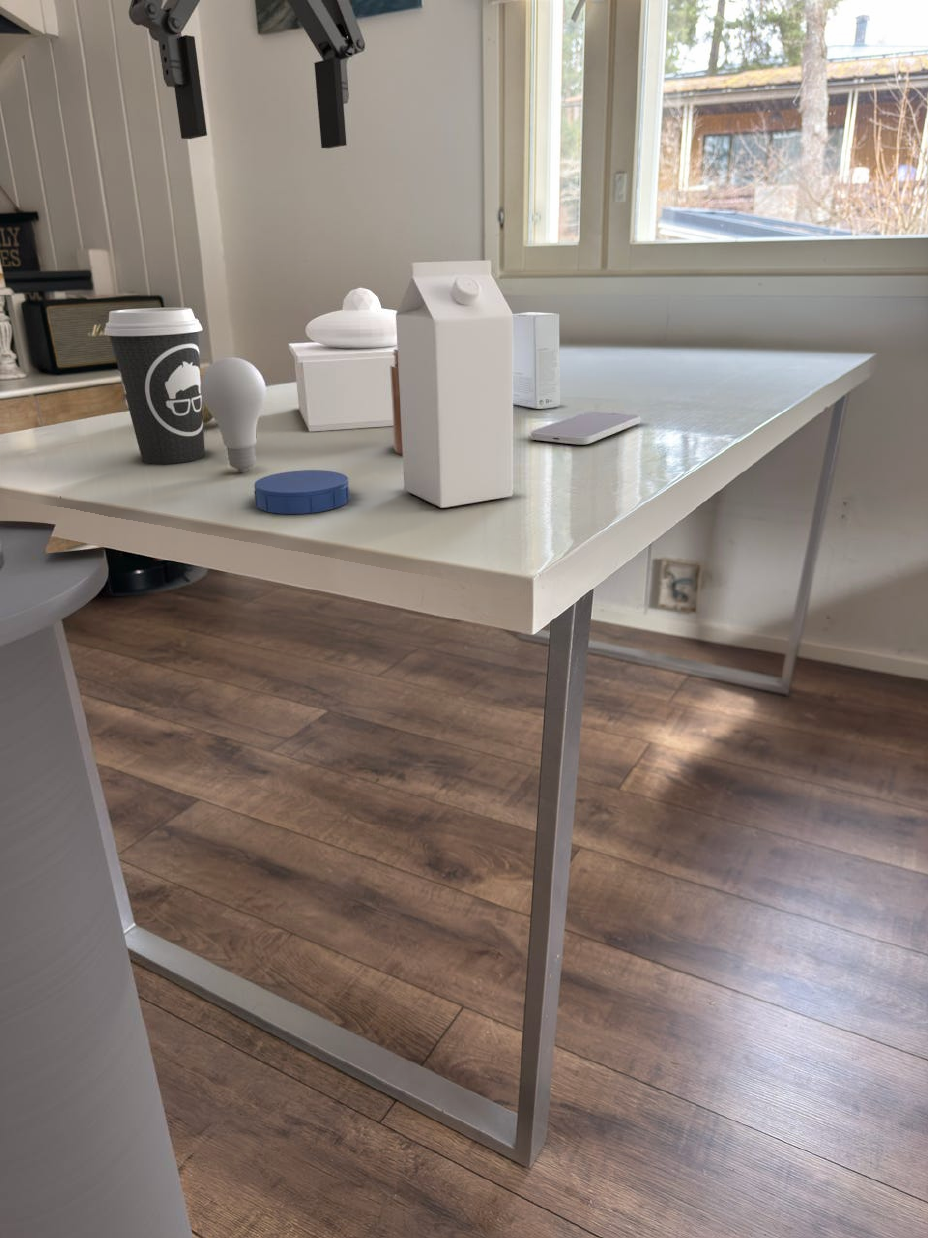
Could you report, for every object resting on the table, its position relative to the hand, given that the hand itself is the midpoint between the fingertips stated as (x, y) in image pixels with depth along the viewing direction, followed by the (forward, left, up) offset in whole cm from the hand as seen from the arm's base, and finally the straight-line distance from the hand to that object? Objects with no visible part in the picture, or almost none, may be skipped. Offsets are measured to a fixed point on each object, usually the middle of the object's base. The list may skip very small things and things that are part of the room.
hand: (268, 142), depth 72 cm
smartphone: (+35, -8, -29) cm, 46 cm away
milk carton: (+5, -16, -29) cm, 33 cm away
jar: (+17, 0, -28) cm, 33 cm away
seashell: (+9, +36, -29) cm, 47 cm away
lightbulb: (-2, +7, -29) cm, 29 cm away
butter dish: (+27, +22, -29) cm, 45 cm away
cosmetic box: (+46, +9, -29) cm, 55 cm away
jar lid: (-5, -7, -27) cm, 28 cm away
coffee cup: (-3, +19, -29) cm, 34 cm away
